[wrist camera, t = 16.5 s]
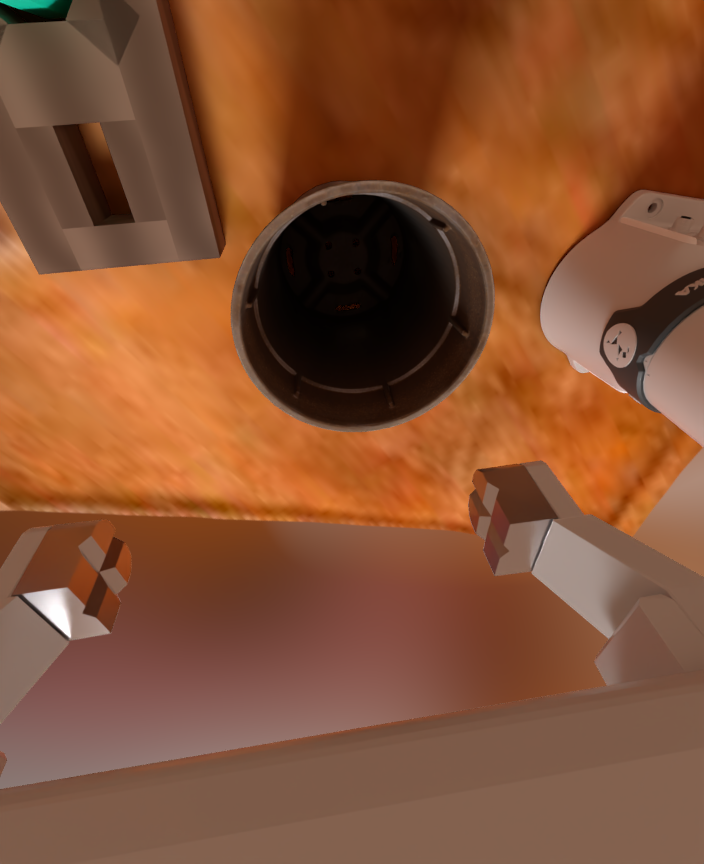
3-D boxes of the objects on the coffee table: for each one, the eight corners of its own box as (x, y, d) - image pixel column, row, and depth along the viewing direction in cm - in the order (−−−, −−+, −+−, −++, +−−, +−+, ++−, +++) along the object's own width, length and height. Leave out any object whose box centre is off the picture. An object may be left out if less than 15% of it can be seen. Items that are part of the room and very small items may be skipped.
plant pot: (286, 355, 43) (286, 457, 31) (218, 185, 33) (177, 234, 21) (435, 313, 42) (497, 399, 30) (412, 124, 32) (492, 137, 20)
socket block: (106, -259, 21) (75, -324, 18) (225, 244, 36) (220, 257, 33) (-190, -256, 20) (-278, -322, 17) (61, 259, 35) (39, 274, 32)
